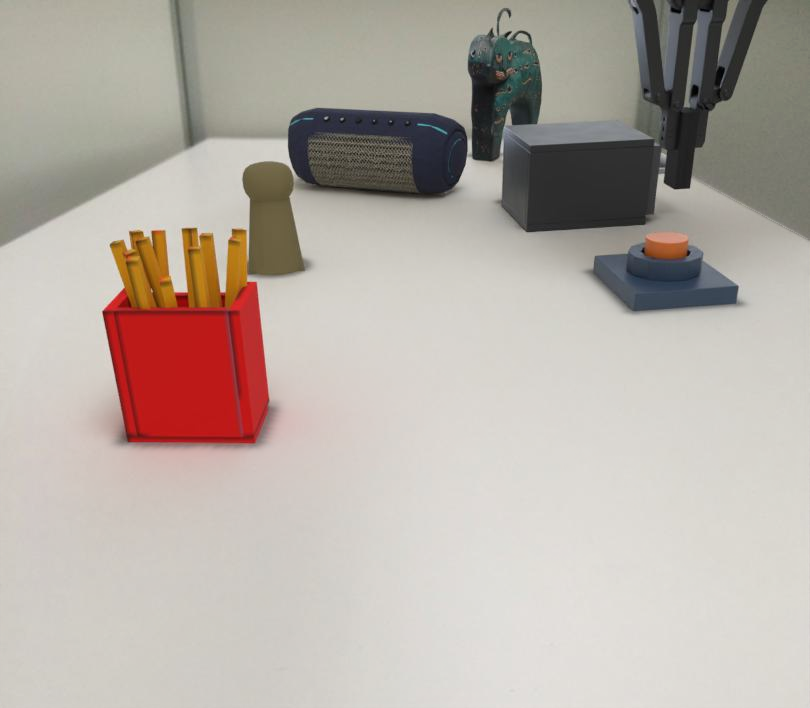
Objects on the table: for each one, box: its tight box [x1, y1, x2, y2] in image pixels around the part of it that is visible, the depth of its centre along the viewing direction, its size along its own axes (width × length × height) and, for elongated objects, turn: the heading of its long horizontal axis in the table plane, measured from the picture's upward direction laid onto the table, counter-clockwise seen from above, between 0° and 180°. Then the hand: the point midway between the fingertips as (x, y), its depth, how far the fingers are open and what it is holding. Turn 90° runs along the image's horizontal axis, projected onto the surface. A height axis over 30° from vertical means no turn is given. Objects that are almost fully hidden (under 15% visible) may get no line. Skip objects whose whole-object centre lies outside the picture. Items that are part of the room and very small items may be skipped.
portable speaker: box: [287, 107, 469, 196], centre depth 130 cm, size 25×10×10 cm, turn 67°
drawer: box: [646, 141, 667, 216], centre depth 118 cm, size 18×11×8 cm, turn 99°
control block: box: [592, 241, 740, 312], centre depth 94 cm, size 10×12×4 cm
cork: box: [241, 160, 306, 276], centre depth 100 cm, size 6×6×11 cm
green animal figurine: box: [467, 7, 543, 162], centre depth 148 cm, size 20×6×20 cm, turn 149°
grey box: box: [501, 119, 656, 233], centre depth 117 cm, size 15×13×10 cm
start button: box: [644, 231, 690, 259], centre depth 93 cm, size 4×4×2 cm
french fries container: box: [101, 227, 270, 444], centre depth 68 cm, size 7×9×14 cm
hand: (676, 185), depth 90 cm, fingers closed
